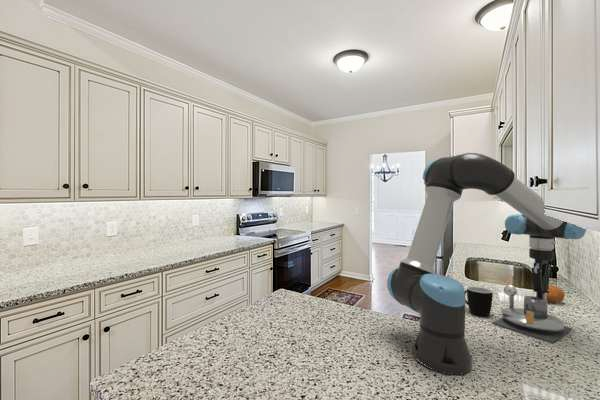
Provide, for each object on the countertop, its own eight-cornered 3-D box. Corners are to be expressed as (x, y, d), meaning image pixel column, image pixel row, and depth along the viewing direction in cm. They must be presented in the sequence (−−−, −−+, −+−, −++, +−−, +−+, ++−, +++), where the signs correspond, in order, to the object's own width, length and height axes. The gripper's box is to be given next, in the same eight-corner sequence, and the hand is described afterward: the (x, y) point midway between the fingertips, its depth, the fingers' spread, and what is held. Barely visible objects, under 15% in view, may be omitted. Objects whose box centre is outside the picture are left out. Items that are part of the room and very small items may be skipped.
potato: (571, 304, 132) (571, 288, 132) (552, 306, 129) (552, 289, 129) (549, 298, 141) (549, 282, 141) (531, 299, 138) (532, 284, 138)
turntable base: (553, 343, 93) (553, 337, 93) (492, 323, 109) (492, 318, 109) (572, 329, 104) (572, 324, 104) (514, 313, 119) (514, 308, 120)
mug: (497, 316, 116) (497, 291, 116) (482, 319, 113) (482, 293, 113) (470, 306, 127) (470, 283, 127) (455, 309, 124) (455, 285, 124)
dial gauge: (515, 315, 117) (515, 287, 118) (503, 312, 121) (503, 284, 121) (519, 313, 120) (519, 285, 120) (507, 310, 123) (507, 283, 123)
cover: (543, 319, 104) (543, 301, 104) (520, 313, 110) (520, 296, 110) (550, 315, 108) (550, 298, 108) (527, 310, 114) (527, 293, 114)
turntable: (554, 336, 94) (554, 319, 94) (493, 317, 109) (493, 303, 109) (571, 324, 104) (571, 309, 104) (513, 308, 119) (513, 295, 119)
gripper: (547, 251, 106) (547, 315, 105) (559, 249, 113) (559, 308, 113) (523, 248, 112) (523, 309, 112) (535, 246, 119) (535, 303, 119)
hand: (541, 308), depth 112 cm, fingers closed
